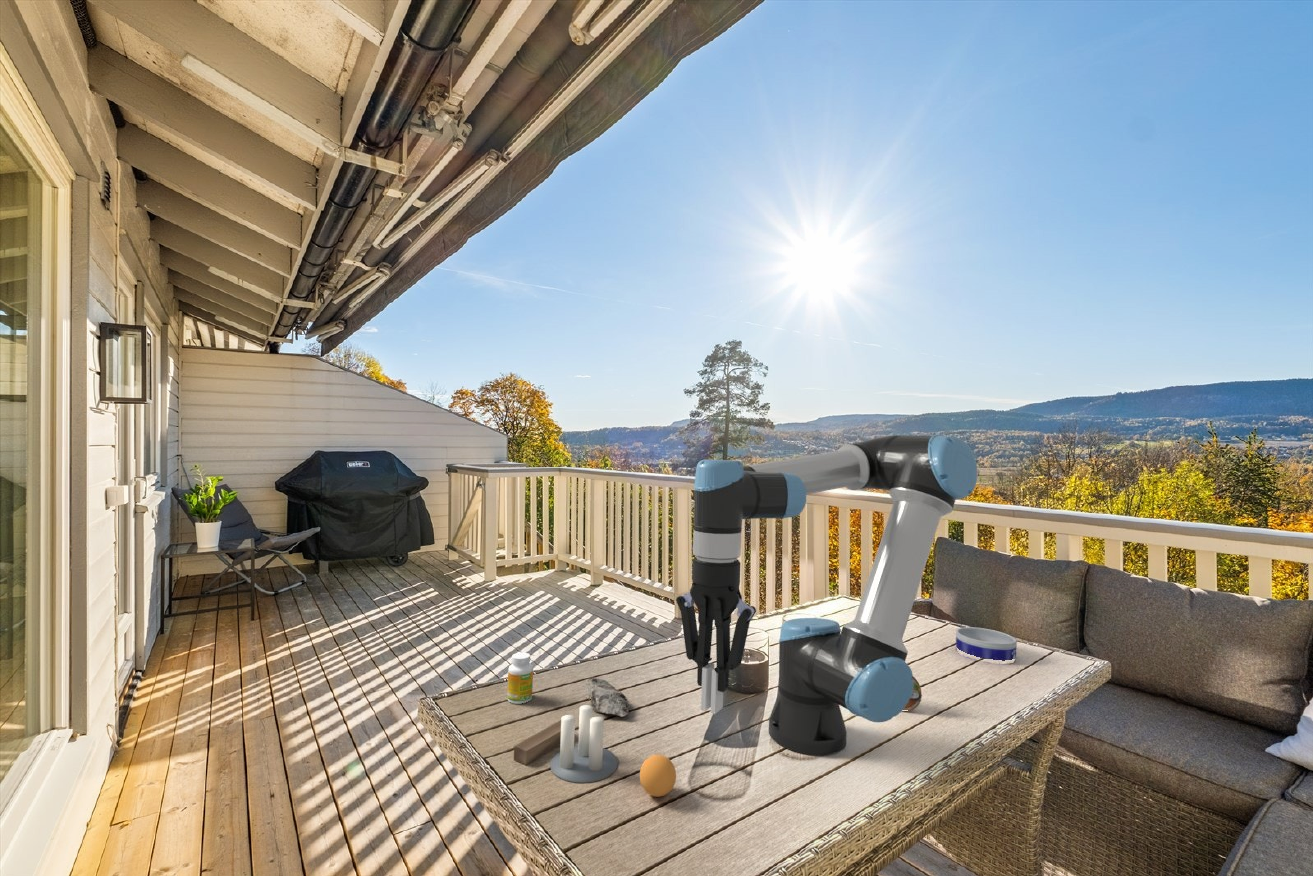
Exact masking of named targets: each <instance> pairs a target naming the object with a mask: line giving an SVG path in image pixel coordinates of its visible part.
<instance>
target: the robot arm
mask: <svg viewBox="0 0 1313 876" xmlns="http://www.w3.org/2000/svg"><path fill="white" fill-rule="evenodd" d="M977 482H978V466H977V461H976V458H975V456H974V452H973V450H972V449H971V447H970V446H969V445H968V444H967V442H966V441H965V440H963V439H962V438H960V437H957V436H952V435H942V434H933V435H888V436H882V437H877V438H873V439H868V440H864V441H860V442H856V443H850V444H845V445H842V446H840V447H839V449H838V450H837V451H831V452H830V451H829V452H825V453H824V452H823V453H819V454H812V455H811V454H810V455H806V456H804V455H803V456H799V457H793V458H786V459H780V460H775V461H767V462H762V463H755V464H748V465H745V466H744V463H743V462H742V461H740V460H734V459H733V460H731V459H729V460H728V459H727V460H726V459H702V460H700V461H699V462H698V463H697V465H696V468H695V476H694V485H693V489H694V499H693V500H694V501H693V502H694V503H693V506H694V508H693V537H692V539H693V540H692V554H693V555H694V556H695V557H694V558H693V559H692V565H691V566H692V569H691V580H692V585H691V587H690V588H689V592H688V593H684V594H682V595H679V596H677V597H676V599H675V601H676V604H677V606H678V608H679V611H680V616H681V623H682V631H683V640H684V646H685V647H684V648H685V654H686V658H687V659H688V660H689V661H693V662H695V664H696V666H697V673H696V676H697V678H696V683H697V686H699V687H701V694H700V695H701V697H700V701H701V702H700V710H701V711H702V712H703V711H704V712H706V711H708V710H709V709H710V714H713V715H716V714H717V713H718V712H720V711H721V710H722V709H723V708H724V692H725V691H727V690H728V689H729V677H730V676H729V675H730V673H729V672H730V671H734V670H735V669H736V668H737V667H739V666H740V665H741V664H742V660H743V656H744V652H745V651H744V650H745V646H746V641H747V637H748V632H749V628H750V623H751V620H752V619H753V617H754V616H755V614H756V613H757V609H756V607H755V606H753V605H748V604H747V603H746V602H745V601H744V600H743V597H742V594H741V590H740V586H741V585H740V583H741V562H740V560H739V559H738V558H740V557H741V555H742V554H741V553H742V552H741V551H742V529H743V528H742V526H743V520H752V519H753V520H754V519H756V520H757V519H780V520H784V519H788V518H794V517H795V518H796V517H798V516H799V515H800V514H801V513H802V512H803V511H804V509H805V507H806V504H807V495H810V494H816V493H821V492H825V491H827V492H828V491H833V490H836V489H843V488H846V489H848V490H851V491H858V490H864V489H872V490H882V491H888V494H889V496H890V498H891V500H892V501H893V504H892V506H891V509H890V513H889V516H888V519H887V522H886V524H885V528H884V530H883V532H882V537H881V540H880V543H879V545H878V548H877V552H876V554H875V557H874V560H873V564H872V566H871V570H870V572H869V576H868V579H867V581H866V584H865V587H864V589H863V593H862V597H861V599H860V602H859V605H858V609H857V611H856V614H855V617H854V619H853V620H852V621H849V622H847V623H845V624H843V625H842V629H841V627H840V626H841V625H840V623H839V622H837V621H836V620H833V619H828V618H820V617H819V618H818V617H801V618H793V619H792V618H791V619H789V620H786V621H784V622H783V624H781V626H780V636H779V639H778V643H779V645H778V646H779V647H778V650H779V651H778V654H779V655H778V691H777V692H778V693H777V697H776V699H775V702H774V704H773V706H772V710H771V712H770V715H769V719H768V734H769V736H770V738H771V740H772V741H774V742H775V743H776V744H778V745H780V746H781V747H783V748H785V749H787V750H790V751H792V752H797V753H801V754H805V755H810V756H811V755H812V756H825V755H826V756H827V755H834V754H836V753H839V752H841V751H842V750H843V749H845V747H846V745H847V732H848V731H847V728H846V724H845V721H844V717H843V713H842V710H841V707H842V708H844V709H846V710H848V712H849V713H851V714H852V715H855V716H857V717H861V718H863V719H865V720H868V721H869V722H873V723H884V722H888V721H890V720H892V719H893V717H897V716H898V715H899V714H900V713H901V712H903V711H902V710H903V709H904V708H905V706H906V705H907V703H908V701H909V699H910V697H911V694H912V691H913V684H914V681H913V679H912V676H913V677H914V674H913V670H912V669H911V667H910V666H909V665H908V663H907V662H906V659H907V656H908V653H909V651H908V650H907V648H906V645H905V644H904V642H903V637H904V635H905V631H906V629H907V625H908V622H909V618H910V615H911V612H912V609H913V605H914V602H915V599H916V596H917V593H918V589H919V587H920V585H921V584H920V583H921V581H922V578H923V574H924V571H925V568H926V565H927V563H928V562H927V561H928V559H929V556H930V552H931V549H932V546H933V544H934V543H933V542H934V540H935V536H936V533H937V530H938V527H939V523H940V520H941V518H942V517H944V516H946V515H948V514H950V513H952V512H953V509H954V506H955V504H956V503H955V502H956V500H962V499H964V498H967V497H969V495H971V494H972V493H973V491H974V490H975V487H976V485H977ZM694 605H695V606H694ZM695 607H696V608H697V609H698V614H697V616H698V617H697V616H696V610H695ZM736 609H737V612H736V615H737V617H738V618H737V621H736V622H735V627H734V632H733V635H732V642H731V622H732V614H733V613H734V612H735V611H736ZM696 617H697V618H696ZM697 622H698V624H697ZM713 624H714V626H715V642H716V643H715V645H716V646H715V647H716V655H715V656H716V667H715V663H712V662H711V661H712V660H713V657H711V656H712V655H711V652H712V641H713V639H712V638H713ZM709 662H710V663H709Z"/></svg>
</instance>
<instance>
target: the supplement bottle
mask: <svg viewBox="0 0 1313 876" xmlns="http://www.w3.org/2000/svg"><path fill="white" fill-rule="evenodd" d="M530 662H531V654H530V653H528V652H515V653H513V654H512V655H511V663H512V664H510V665H509V667H508V669H507V670H508V671H507V692H506V693H507V695H506V696H507V701H508V703H510V702H511V704H515V705H522V703H523V704H526V702H527V703H528V701H529V702H530V701H531V700H532V697H533V682H534V681H533V680H534V679H533V677H534V665H533V664H532V663H530Z"/></svg>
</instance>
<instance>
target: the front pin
mask: <svg viewBox="0 0 1313 876" xmlns="http://www.w3.org/2000/svg"><path fill="white" fill-rule="evenodd" d="M604 721H605V719H604V718H603V717H602V716H592V718H591V719H590V738H589V769H590V770H592V771H598V770H600V769H602V756H603V748H604V726H605V725H604Z"/></svg>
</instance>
